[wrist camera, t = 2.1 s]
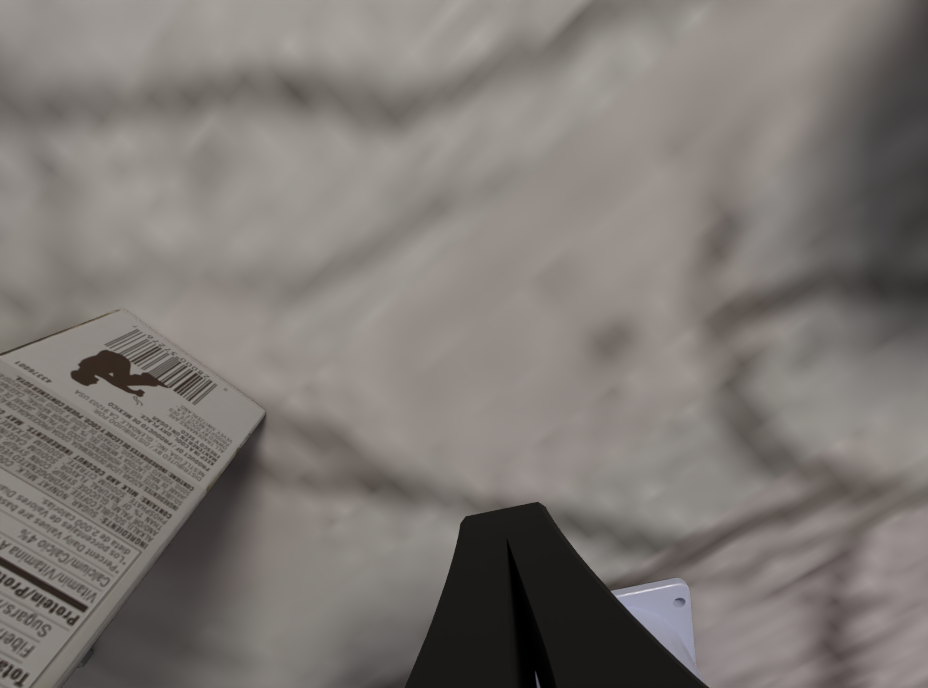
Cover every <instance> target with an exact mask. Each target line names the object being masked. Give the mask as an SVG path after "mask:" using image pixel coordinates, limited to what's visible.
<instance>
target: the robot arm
mask: <svg viewBox="0 0 928 688" xmlns="http://www.w3.org/2000/svg"><path fill="white" fill-rule="evenodd" d="M677 598H679V599H677ZM675 599H677V600H675ZM405 688H709V687H708V686H707V685H706V683H705V681H704V680H703V678H702V676H701V674H700V672H699V670H698V668H697V666H696V661H695V649H694V638H693V626H692V614H691V602H690V590H689V588H688V586H687V584H686V582H685V581H684V580H683V579H680V578H672V579H667V580H662V581H657V582H652V583H647V584H642V585H638V586H633V587H628V588H623V589H618V590H613V591H610V590H609V589H608V588H607V587H606V585H605V584H604V583H603V582H602V581H601V580H600V579H599V578H598V576H597V575H596V574H595V573H594V572H593V571H592V570H591V569H590V567H589V566H588V565H587V564H586V563H585V561H584V560H583V559H582V558H581V557H580V555H579V554H578V553H577V552H576V550H575V549H574V548H573V546H572V545H571V544H570V543H569V541H568V540H567V539H566V537H565V536H564V535H563V533H562V532H561V531H560V529H559V528H558V526H557V525H556V523H555V522H554V520H553V519H552V517H551V516H550V514H549V512H548V511H547V509H546V507H545V506H544V505H542V504H540V503H539V502H535V503H530V504H525V505H520V506H515V507H510V508H505V509H500V510H495V511H490V512H485V513H481V514H476V515H471V516H466V517H465V518H464V520H463V521H462V522H461V524H460V530H459V535H458V540H457V544H456V548H455V552H454V556H453V559H452V563H451V566H450V570H449V573H448V576H447V580H446V583H445V586H444V588H443V591H442V594H441V597H440V600H439V603H438V606H437V609H436V611H435V614H434V617H433V620H432V623H431V625H430V628H429V631H428V633H427V636H426V638H425V641H424V643H423V645H422V648H421V650H420V653H419V655H418V657H417V660H416V662H415V665H414V667H413V669H412V672H411V674H410V677H409V679H408V681H407V684H406V686H405Z"/></svg>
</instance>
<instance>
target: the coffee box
mask: <svg viewBox="0 0 928 688" xmlns="http://www.w3.org/2000/svg"><path fill="white" fill-rule="evenodd" d="M265 414H266V413H265V410H264V409H263V408H261V407H260V406H259V405H257V404H256V403H254V402H253V401H252V400H250V399H249V398H247V397H246V396H245V395H243V394H242V393H240V392H239V391H238V390H236V389H235V388H233V387H232V386H231V385H229V384H228V383H226V382H225V381H224V380H222V379H221V378H219V377H218V376H217V375H215V374H214V373H212V372H211V371H210V370H208V369H207V368H205V367H204V366H203V365H201V364H200V363H198V362H197V361H196V360H194V359H193V358H191V357H190V356H189V355H187V354H186V353H184V352H183V351H182V350H180V349H179V348H177V347H176V346H175V345H173V344H172V343H170V342H169V341H167V340H166V339H164V338H163V337H162V336H160V335H159V334H158V333H156V332H155V331H154V330H152V329H151V328H149V327H148V326H147V325H145V324H144V323H142V322H141V321H139V320H138V319H137V318H135V317H134V316H132V315H131V314H130V313H128V312H127V311H125V310H116V311H113V312H110V313H107V314H105V315H102V316H100V317H97V318H95V319H92V320H89V321H87V322H84V323H82V324H79V325H77V326H74V327H71V328H68V329H66V330H63V331H60V332H58V333H55V334H52V335H50V336H47V337H44V338H42V339H39V340H36V341H33V342H31V343H28V344H25V345H22V346H20V347H17V348H15V349H12V350H9V351H6V352H4V353H1V354H0V688H61V687H62V686H63V684H64V683H65V682H66V681H67V680H68V678H69V677H70V675H71V674H72V673H73V671H74V670H75V669H76V668H77V666H78V665H79V663H80V662H81V660H82V659H83V658H84V656H85V655H86V653H87V652H88V651H89V650H90V649H91V647H92V646H93V645H94V643H95V642H96V641H97V639H98V638H99V637H100V635H101V634H102V633H103V631H104V630H105V629H106V628H107V626H108V625H109V624H110V623H111V621H112V620H113V618H114V617H115V615H116V614H117V613H118V611H119V610H120V609H121V607H122V606H123V605H124V604H125V602H126V601H127V599H128V598H129V597H130V595H131V594H132V593H133V591H134V590H135V589H136V587H137V586H138V585H139V584H140V582H141V581H142V580H143V578H144V577H145V576H146V574H147V573H148V572H149V570H150V569H151V568H152V566H153V565H154V564H155V562H156V561H157V560H158V558H159V557H160V556H161V554H162V553H163V552H164V550H165V549H166V548H167V546H168V545H169V544H170V542H171V541H172V540H173V538H174V537H175V536H176V534H177V533H178V532H179V530H180V529H181V528H182V526H183V525H184V524H185V522H186V521H187V520H188V518H189V517H190V516H191V514H192V513H193V512H194V510H195V509H196V508H197V506H198V505H199V504H200V502H201V501H202V500H203V498H204V497H205V496H206V494H207V493H208V492H209V490H210V489H211V488H212V486H213V485H214V484H215V482H216V481H217V480H218V478H219V477H220V476H221V474H222V473H223V472H224V470H225V469H226V467H227V466H228V465H229V463H230V462H231V461H232V459H233V458H234V457H235V456H236V454H237V453H238V452H239V450H240V449H241V448H242V446H243V445H244V443H245V442H246V441H247V439H248V438H249V437H250V435H251V434H252V433H253V431H254V430H255V429H256V427H257V426H258V424H259V423H260V422H261V420H262V419H263V418H264V416H265Z"/></svg>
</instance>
